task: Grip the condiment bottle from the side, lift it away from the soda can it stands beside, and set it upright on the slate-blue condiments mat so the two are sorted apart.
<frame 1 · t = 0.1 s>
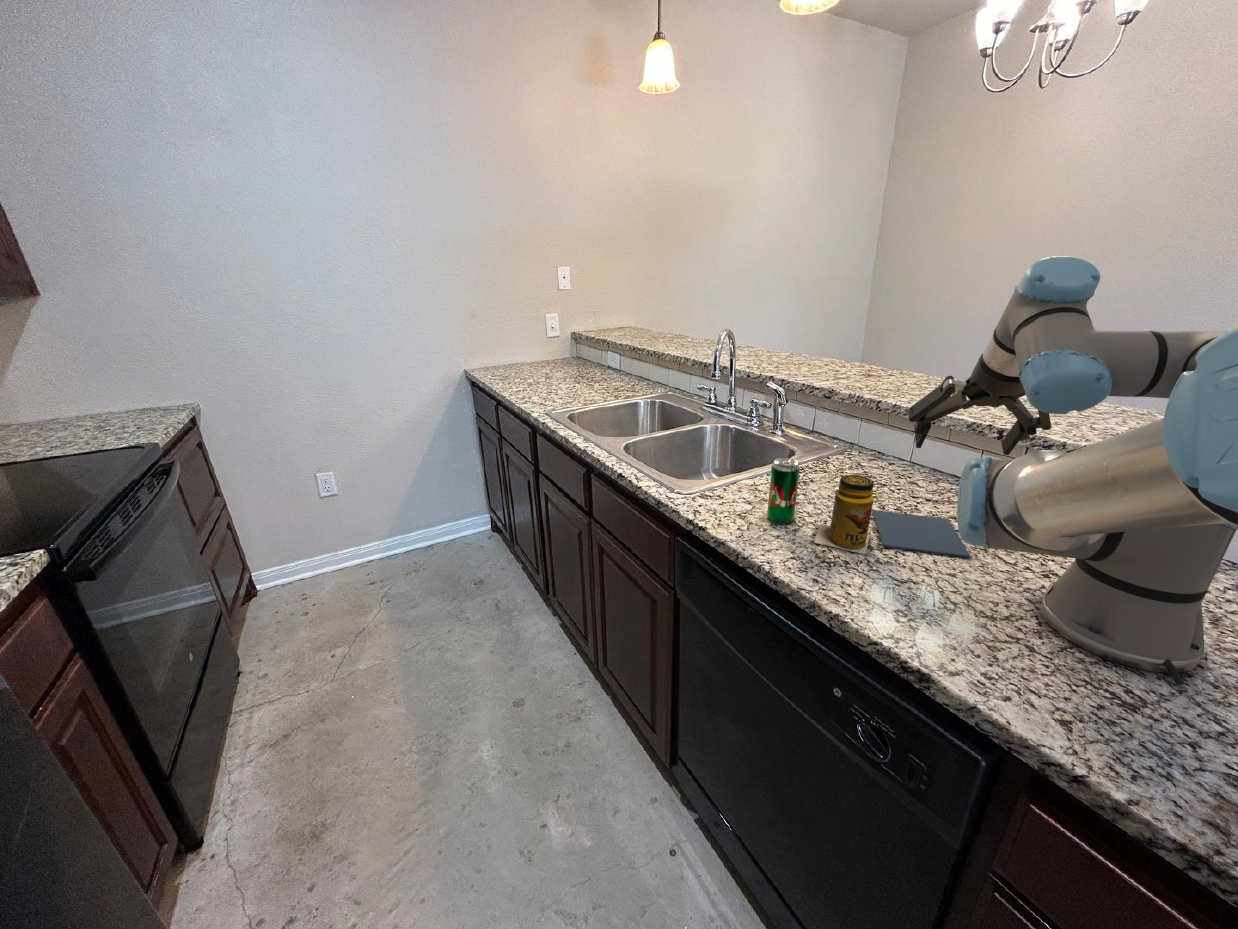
hand: (960, 445, 90), 15 cm above the countertop, tool tilted 35°, fingers open, 13 cm apart
soda can: (780, 519, 98), on the countertop
blue mat: (916, 533, 91), on the countertop
condiment: (841, 540, 90), on the countertop
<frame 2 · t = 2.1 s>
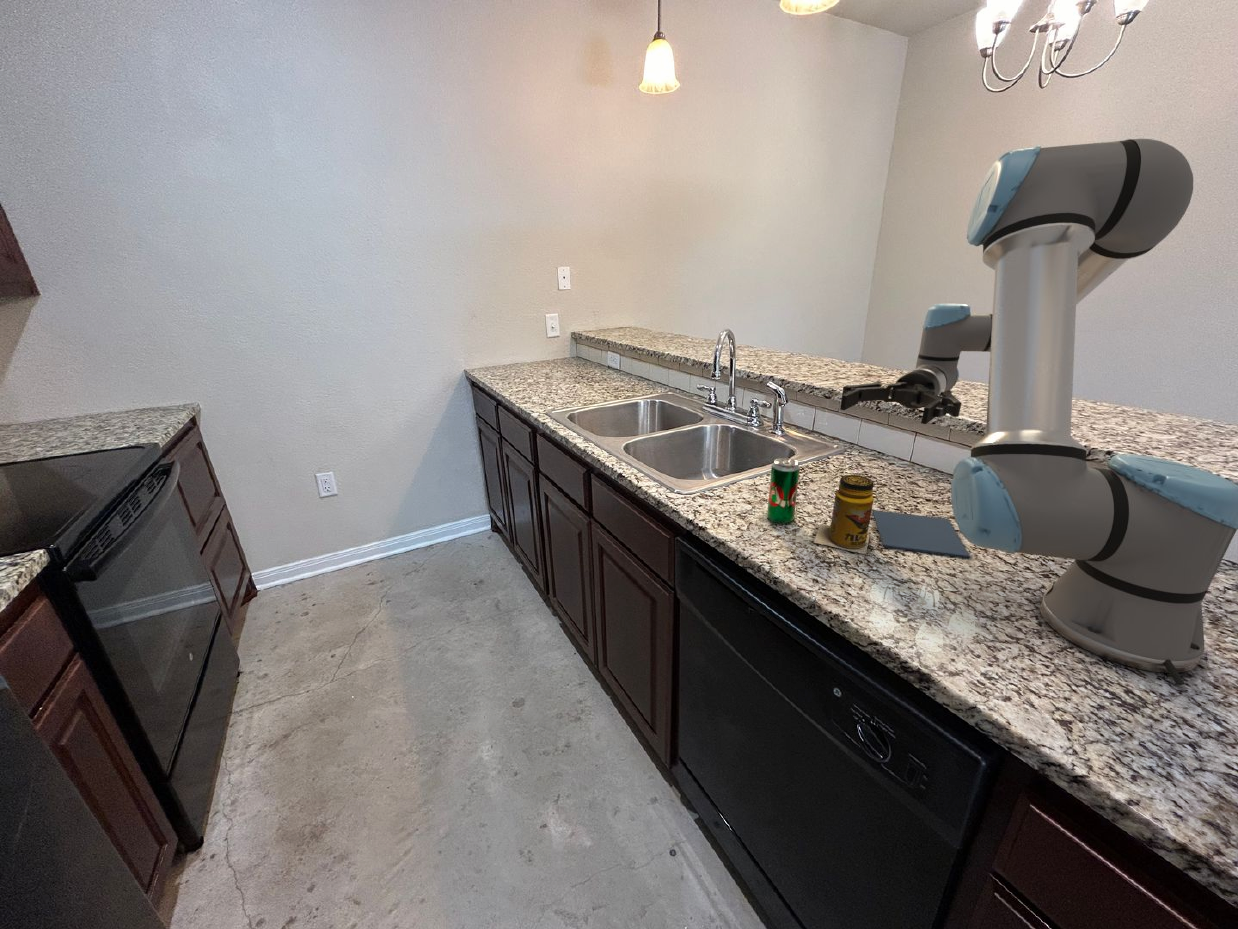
hand: (881, 409, 88), 22 cm above the countertop, tool horizontal, fingers open, 13 cm apart
nothing on the countertop moved.
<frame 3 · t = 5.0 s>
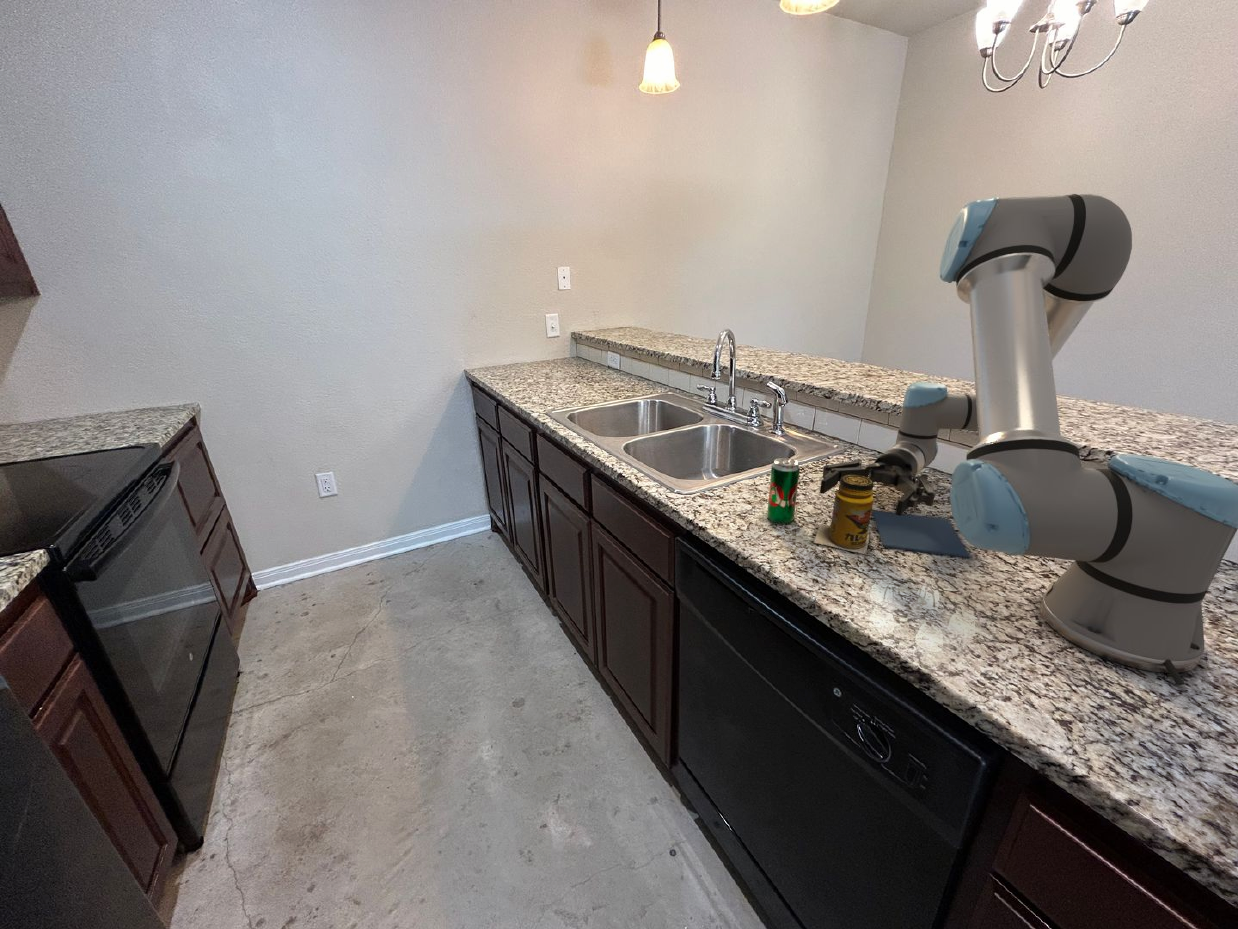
hand: (858, 497, 91), 7 cm above the countertop, tool horizontal, fingers open, 13 cm apart
nothing on the countertop moved.
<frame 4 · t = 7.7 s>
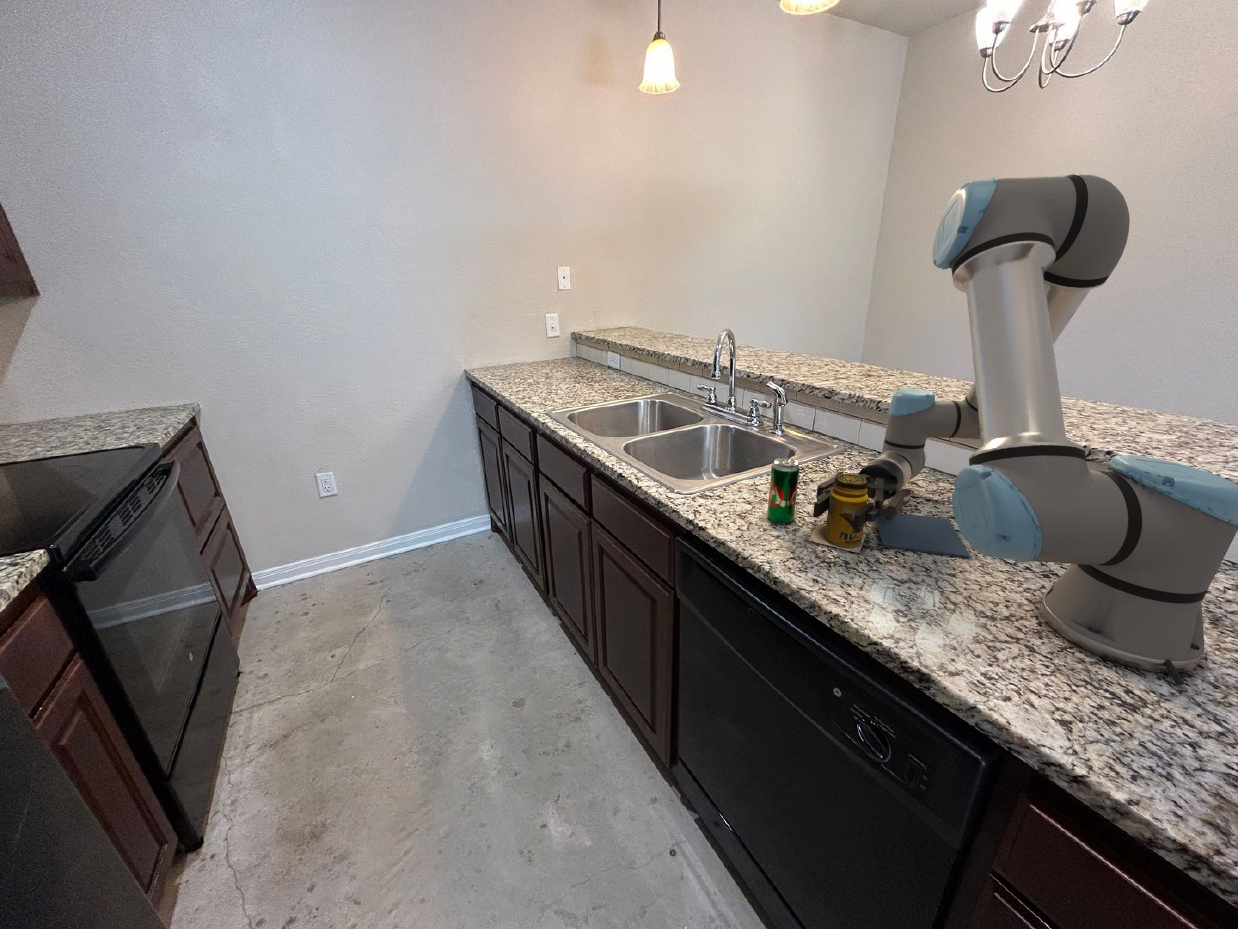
hand: (835, 516, 84), 7 cm above the countertop, tool horizontal, fingers closed on condiment, 6 cm apart
condiment: (837, 539, 90), on the countertop, touching gripper
everything else where it was.
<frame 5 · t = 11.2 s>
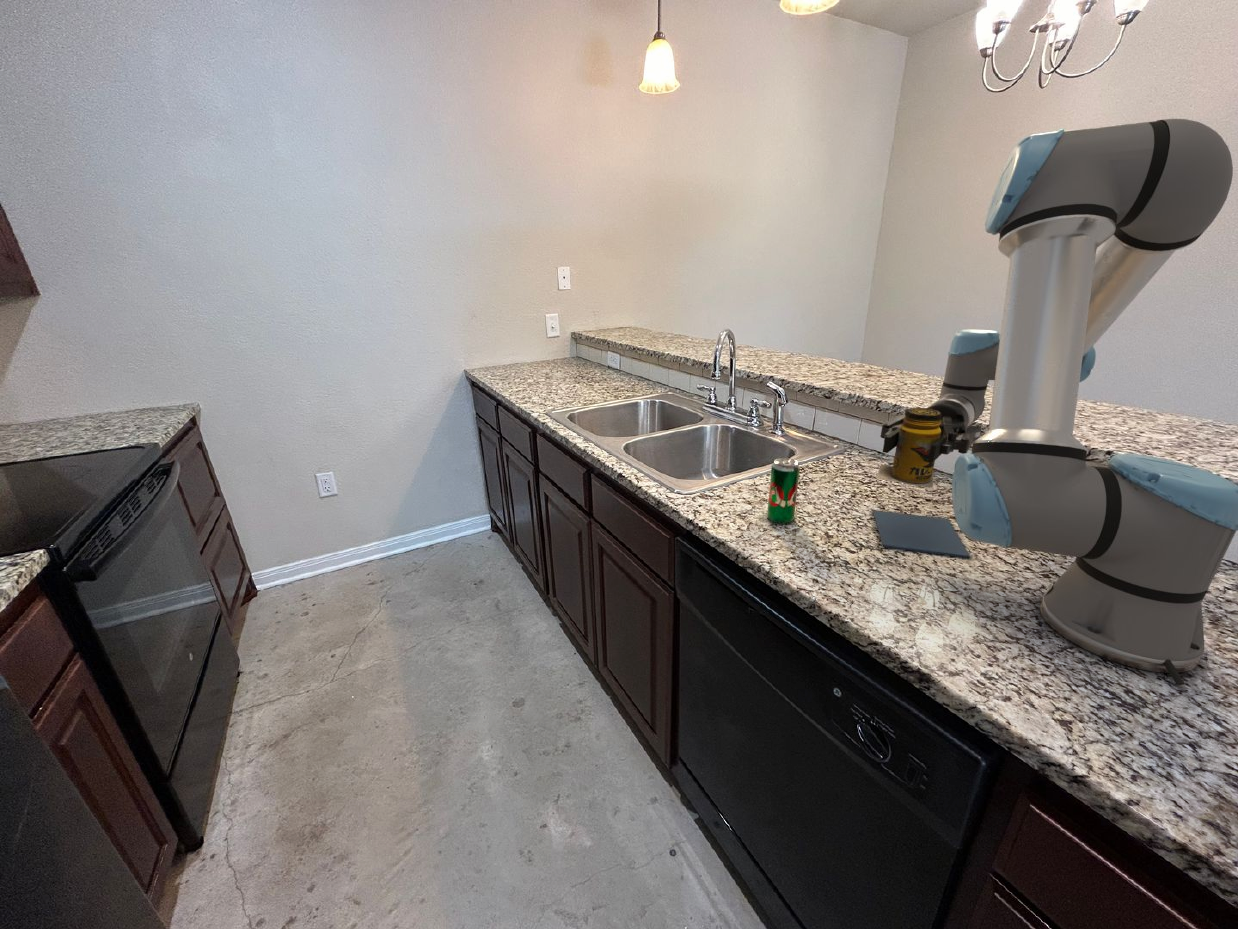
hand: (908, 449, 81), 18 cm above the countertop, tool horizontal, fingers closed on condiment, 6 cm apart
condiment: (904, 477, 87), point 11 cm above the countertop, touching gripper
everything else where it was.
when the fingers open (7 cm above the countertop, at t = 14.9 s): condiment stays where it is, resting on blue mat.
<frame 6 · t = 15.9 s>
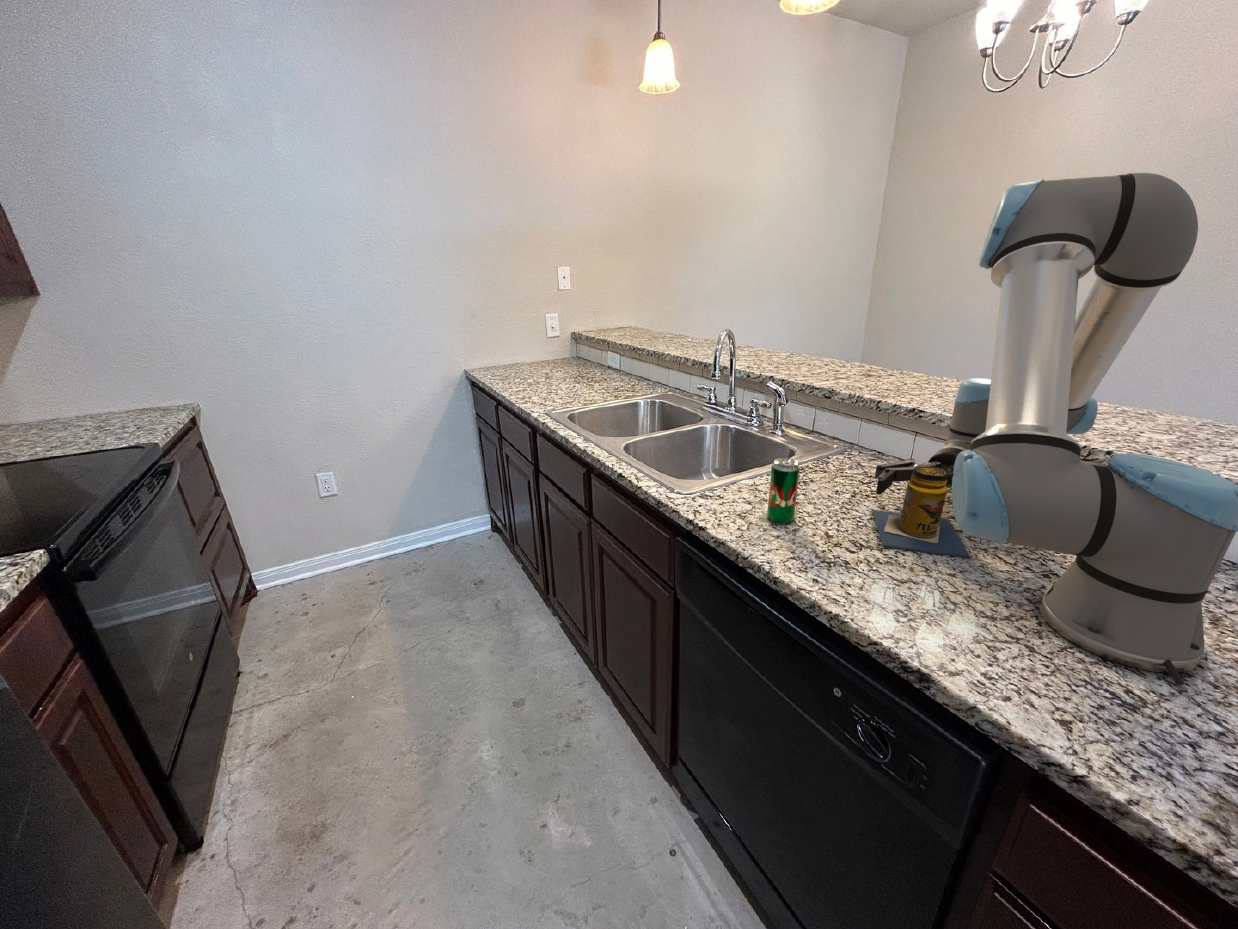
hand: (920, 498, 86), 8 cm above the countertop, tool horizontal, fingers open, 13 cm apart
condiment: (911, 530, 92), resting on blue mat
everything else where it was.
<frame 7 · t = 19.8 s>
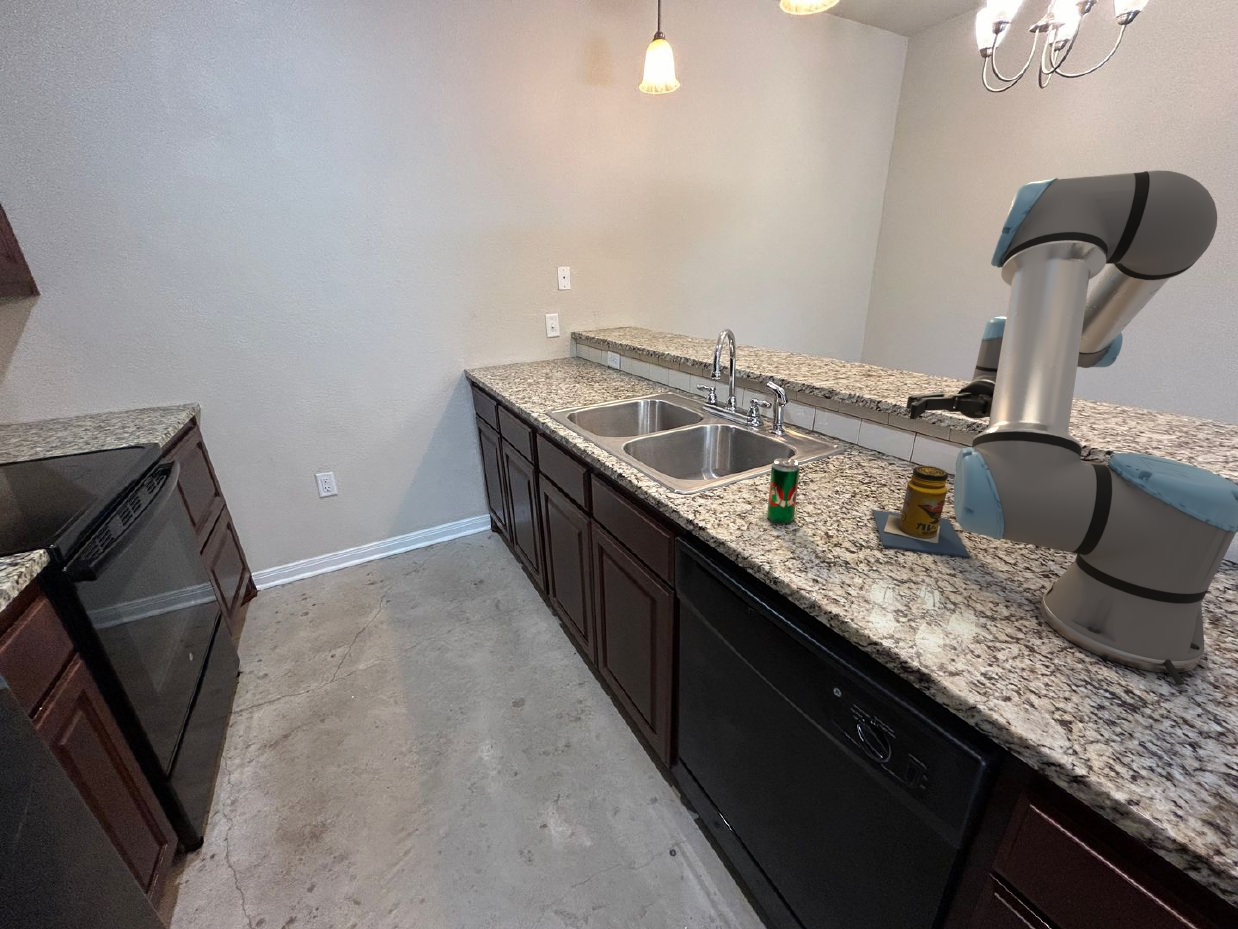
hand: (954, 418, 90), 20 cm above the countertop, tool horizontal, fingers open, 13 cm apart
nothing on the countertop moved.
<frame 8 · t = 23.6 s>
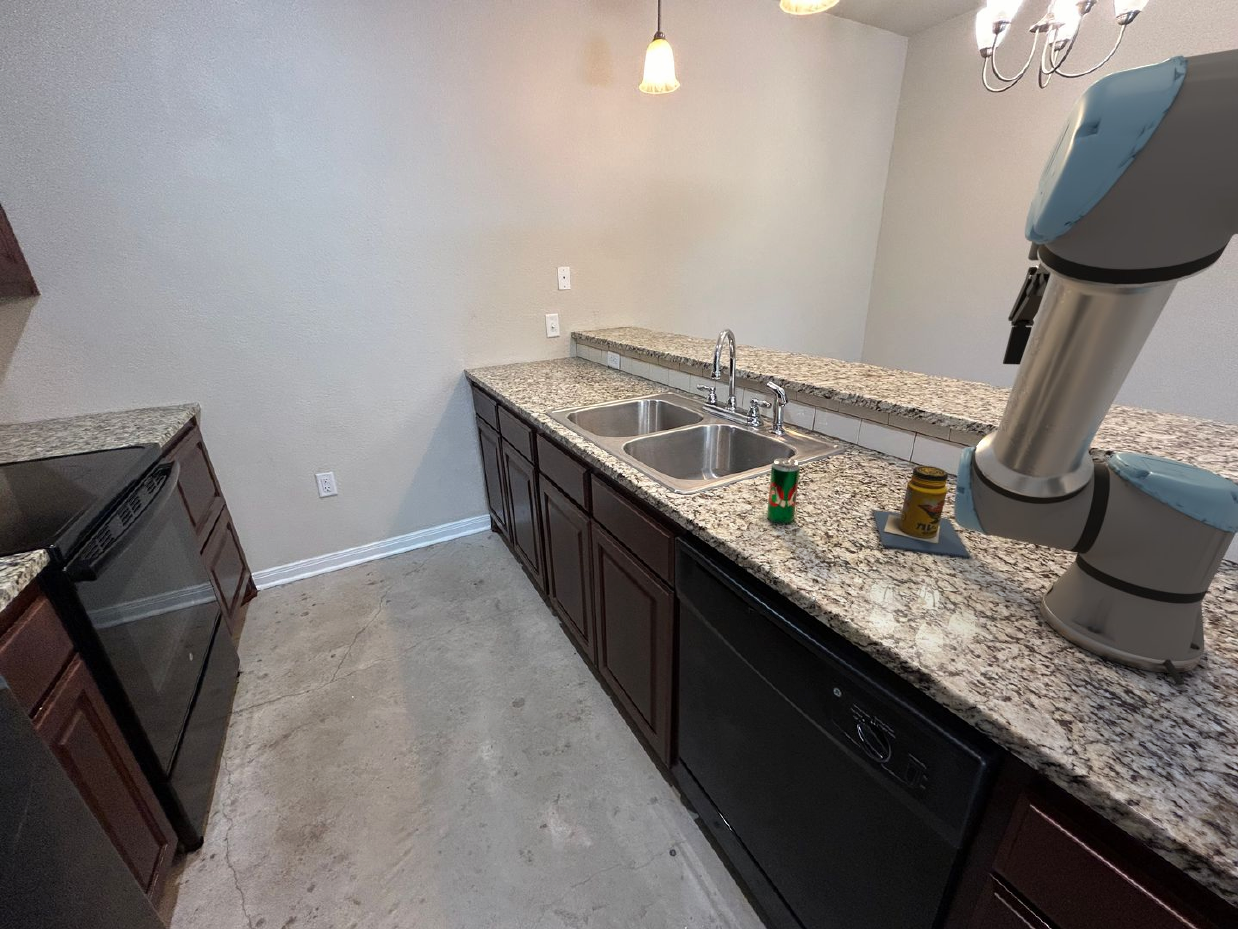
hand: (1027, 371, 84), 29 cm above the countertop, tool pointing down, fingers open, 13 cm apart
nothing on the countertop moved.
at the end: condiment inside the target area on the blue mat (0.9 cm from its centre), point 0.2 cm above the blue mat's base; condiment tilted 0°; soda can moved 0.2 cm from its start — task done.
